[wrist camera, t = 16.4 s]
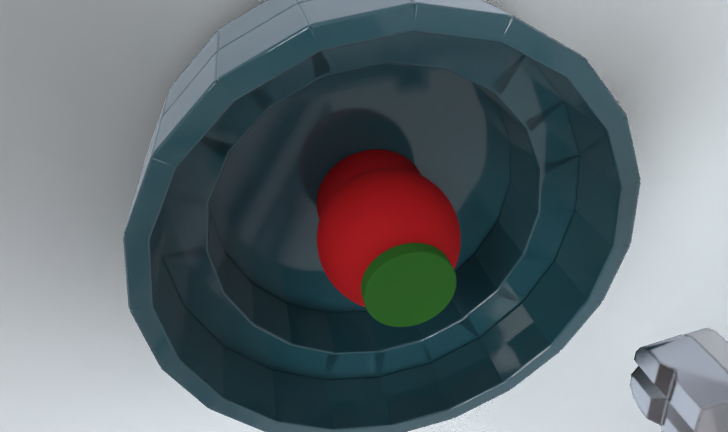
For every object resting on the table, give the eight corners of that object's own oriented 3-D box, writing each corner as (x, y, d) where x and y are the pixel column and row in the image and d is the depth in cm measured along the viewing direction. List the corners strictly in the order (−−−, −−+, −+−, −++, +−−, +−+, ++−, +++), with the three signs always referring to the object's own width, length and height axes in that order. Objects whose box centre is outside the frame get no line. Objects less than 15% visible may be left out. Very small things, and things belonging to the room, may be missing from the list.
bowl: (223, 372, 23) (223, 484, 18) (69, 26, 15) (7, 88, 11) (544, 287, 24) (611, 374, 20) (562, -74, 16) (678, -54, 12)
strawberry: (320, 262, 20) (345, 367, 16) (294, 157, 17) (315, 247, 13) (436, 233, 20) (490, 328, 16) (426, 126, 18) (486, 205, 14)
